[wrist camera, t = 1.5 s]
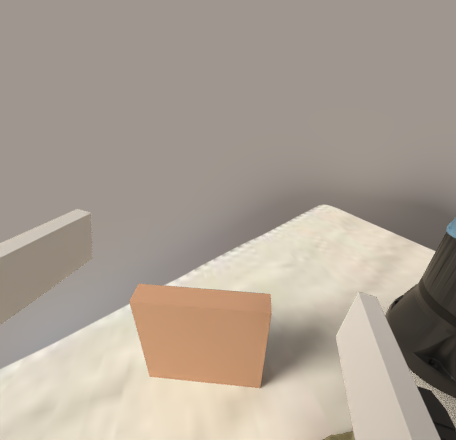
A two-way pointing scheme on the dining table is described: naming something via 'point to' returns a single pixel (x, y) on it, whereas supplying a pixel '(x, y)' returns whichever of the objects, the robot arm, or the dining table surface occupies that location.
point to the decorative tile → (342, 436)
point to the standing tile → (202, 333)
